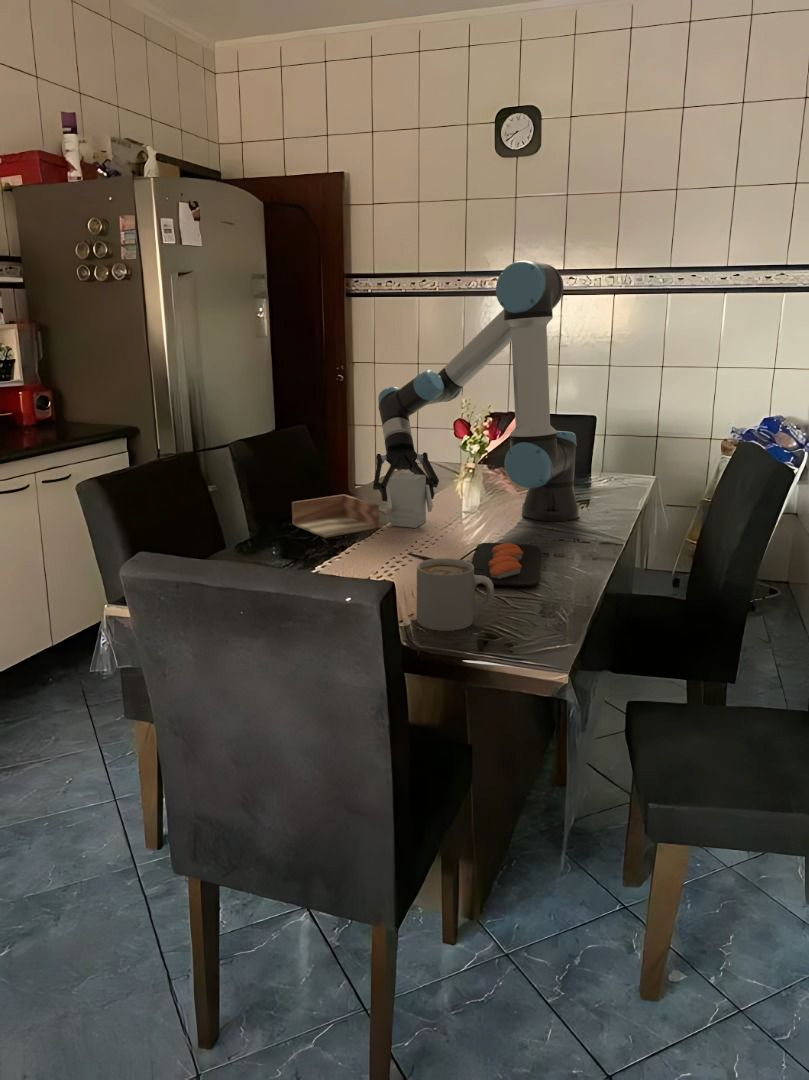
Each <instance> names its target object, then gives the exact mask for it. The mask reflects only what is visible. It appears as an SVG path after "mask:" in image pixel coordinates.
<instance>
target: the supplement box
mask: <svg viewBox="0 0 809 1080" xmlns="http://www.w3.org/2000/svg"><path fill="white" fill-rule="evenodd" d="M426 475H427V474H426ZM426 475H417V474H414V473H405V472H404V473H403V472H401V473H398V474H395V475H394V476H393V475H392V476H391V478H389V480H390V481H389V490H390V496H391V503H392V511H391V514H389V522H390V524H389V525H390V526H391V527H392V526H395V527H403V528H412V529H416V528H418V527H420V526H422V525H423V524H425V523H426V522H427V520H426V519H427V512H426V511H427V508H426V506H427V502H426Z"/></svg>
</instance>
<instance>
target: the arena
mask: <svg viewBox="0 0 809 1080" xmlns="http://www.w3.org/2000/svg"><path fill="white" fill-rule="evenodd" d="M379 509H380V505H379V504H377V503H374V502H370V501H367V500H364V499H361V498H358V497H355V496H351V495H349V494H345V493H344V494H337V495H330V496H324V497H323V496H322V497H317V498H316V497H315V498H310V499H309V498H308V499H303V500H296V501H291V516H292V517H291V519H292V525H293V526H295V527H297V528H300V529H303V530H304V531H306V532H308V533H309V532H310V533H312V534H314V535H317V536H320V537H321V538H324V539H326V538H332V537H337V536H338V537H339V536H342V535H349V534H352V533H353V534H354V533H359V532H365V531H371V530H376V529H379V528H380V511H379Z"/></svg>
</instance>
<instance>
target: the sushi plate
mask: <svg viewBox="0 0 809 1080" xmlns="http://www.w3.org/2000/svg"><path fill="white" fill-rule="evenodd" d="M541 551H542V550H541V548H540V546H537V545H534V544H527V543H526V544H523V543H513V542H506V543H505V542H504V543H503V542H482V543H479V544H477V546H476V547H475V548H473V549H472V550H470V551H469V552H468V553H466V554H465V555H463V556H462V557H461V558H458V559H459V560H464V559H466V557H468V556H469V555H471V554H472V553H473V556H472V559H471V562H470V563H471V564H472V565H473V566H474V575H481V576H486V577H488V578H489V579H490V580H491V581H492V583H493V586H494V585H495V586H496V585H497V586H515V587H520V586H521V587H531V586H532V587H533V586H536V585H538V584H539V583H540V580H541V579H540V578H541V554H542V553H541ZM406 555H409V556H412V557H414V556H415V558H417V557H418V559H420V558H421V560H424V561H425V560H429V559H435V558H434V557H429V556H424V555H419V554H414V553H409V552H408V553H406Z"/></svg>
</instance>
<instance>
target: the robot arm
mask: <svg viewBox="0 0 809 1080" xmlns="http://www.w3.org/2000/svg"><path fill="white" fill-rule="evenodd" d="M495 284H496V285H495V295H496V299H497V302H498V303H499V305H500V306H501V308H503V309H502V310H501V311H500V312H499V313H498V314H497V315H495V317H494V318H493V319H492V320H491V321H490V322H488V324H487V325H485V326H484V328H483V329H481V331H480V332H479V333H477V335H475V337H473V338H472V339H471V341H470V342H469V343H467V344H466V345H465V346H464V347H463V348H462V349H461V350H460V351H459V352H458V353H457V354H456V355H455V356H454V357H453V358H452V359H451V360H450V361H449V362H448V363H446V365H445V366H444V367H443V368H442V369H441V370H440V371H439V372H438V373H437V372H436V371H433V370H432V369H426V370H425V371H423V372H422V373H419V374H417V375H416V376H415V377H414V378H413V379H411V380H410V381H409V382H407V383H406V384H405V385H403V386H402V387H401V388H400V387H398V386H390V387H388V388H384V389H383V390H382V391H381V392H379V395H378V397H377V399H378V411H379V415H380V421H381V427H382V433H383V434H382V435H383V441H384V446H385V453H386V454H383V455H382V454H381V453H377V454H376V457H375V465H376V468H375V472H374V473H375V474H374V480H373V485H372V490H374V491H377V490H378V491H379V493H380V496H381V500H382V502H385V503H386V508H387V509H386V510H387V514H389V515H390V514H391V511H392V503H391V496H390V485H389V486H388V484H390V480H389V478H391V477H393V474H394V473H395V471H396V470H397V471H401V470H406V471H407V470H409V471H410V472H411V474H417V475H426V506H427V508H426V509H427V511H428V513H430V512H432V510H433V507H434V505H433V501H432V500H433V499H434V497H435V491H434V488H437V487H438V485H439V483H440V480H439V478H438V476H437V474H436V472H435V470H434V468H433V466H432V464H431V462H430V461H429V458H428V457H429V456H428V453H427V452H426V451H424V452H423V453H421V454H419V453H417V452H416V450H415V446H414V441H413V440H414V439H413V434H412V428H411V424H410V416H412V415H414V414H415V413H416V412H418V411H419V410H420V409H422V408H423V407H425V406H427V405H433V404H438V403H443V402H445V403H447V402H451V401H453V400H455V399H456V398H458V397H459V396H460V394H461V392H462V389H463V387H465V386H466V385H467V384H468V383H469V382H471V380H472V379H473V378H474V377H475V376H476V375H477V374H478V373H479V372H480V371H481V370H483V369H484V368H485V367H486V366H487V365H488V364H489V363H490V362H491V361H492V360H494V358H495V357H497V355H499V354H500V353H501V352H502V351H503V350H504V349H505V348H507V346H508V345H509V344H510V343H511V355H512V356H511V358H512V377H513V378H512V380H513V401H514V404H513V405H514V420H515V421H514V422H515V427H514V429H513V430H511V432H510V433H509V446H510V448H509V450H508V451H507V453H506V455H505V457H504V469H505V473H506V475H507V476H508V478H509V479H510V481H512V482H513V483H514V484H515V485H517V486H519V487H521V488H525V489H527V492H526V496H525V498H524V502H523V503H522V506H521V515H522V516H523V517H525V518H528V519H531V520H536V521H545V522H566V521H572V520H576V519H577V518H578V517H579V511H580V509H579V506H578V503H577V498H576V493H575V490H574V485H575V484H574V483H575V468H576V466H575V465H576V453H577V452H576V451H577V445H578V444H577V443H578V442H577V436H576V433H574V432H572V431H563V430H556V429H555V428H554V427H553V426H552V425H551V413H550V411H551V409H550V407H551V406H550V386H549V385H550V383H549V359H548V358H549V357H548V356H549V355H548V333H547V331H548V330H547V329H548V328H547V326H548V324H549V323H550V322H551V320H553V315H554V314H553V310H554V308H555V307H556V306H557V305H558V304H559V303H560V301H561V299H562V296H563V294H564V293H563V292H564V280H563V277H562V275H561V274H560V272H559V271H558V270H557V268H556V267H554V266H552V265H551V264H547V263H542V262H536V261H533V260H520V261H515V262H513V263H510V264H509V265H508V266H506V267H505V268H504V269H503V271H502V272H501V273H500V274H499V276H498V278H497V281H496V283H495ZM417 460H418V461H419V463H420V464H421V465H422V468H423V469H424V471H423V470H422V468H421V467H420V466H419V464H418V463H417ZM385 461H386V462H387V463H388V464H389V465H390V466H389V468H388V469H387V472H386V473H385V475H384V477H383V479H382V481H381V482H380V478H381V472H382V467H383V465H384V464H385Z"/></svg>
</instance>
